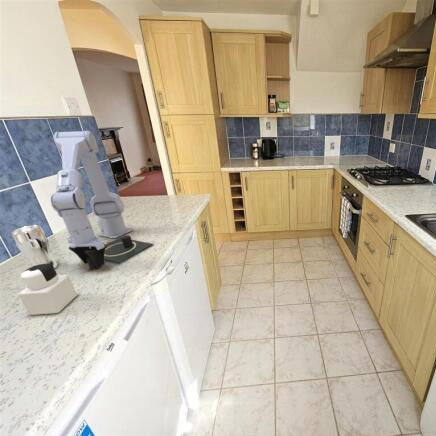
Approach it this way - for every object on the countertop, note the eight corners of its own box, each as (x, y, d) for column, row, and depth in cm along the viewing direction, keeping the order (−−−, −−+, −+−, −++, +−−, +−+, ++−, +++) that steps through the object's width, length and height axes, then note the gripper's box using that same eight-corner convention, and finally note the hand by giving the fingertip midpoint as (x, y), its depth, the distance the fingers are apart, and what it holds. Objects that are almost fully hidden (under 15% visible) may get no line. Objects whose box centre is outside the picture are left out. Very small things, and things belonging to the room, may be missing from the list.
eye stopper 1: (88, 269, 82) (84, 258, 80) (97, 264, 85) (93, 254, 83) (94, 270, 81) (90, 260, 79) (103, 265, 84) (99, 255, 82)
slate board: (85, 255, 90) (84, 253, 90) (120, 238, 102) (120, 237, 102) (119, 264, 84) (118, 262, 84) (152, 245, 96) (152, 243, 96)
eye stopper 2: (122, 247, 94) (119, 238, 92) (129, 243, 96) (126, 234, 95) (127, 248, 93) (124, 239, 91) (134, 244, 95) (131, 235, 94)
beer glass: (64, 264, 85) (46, 225, 79) (39, 276, 79) (18, 235, 73) (51, 261, 87) (32, 223, 81) (26, 272, 81) (4, 232, 75)
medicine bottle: (52, 296, 69) (33, 261, 65) (78, 294, 70) (61, 259, 65) (29, 315, 63) (6, 277, 58) (58, 313, 63) (38, 275, 59)
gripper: (50, 230, 76) (67, 266, 81) (81, 236, 71) (96, 274, 76) (75, 221, 82) (89, 255, 87) (105, 226, 77) (118, 262, 82)
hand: (94, 263), depth 82 cm, fingers open, 6 cm apart
